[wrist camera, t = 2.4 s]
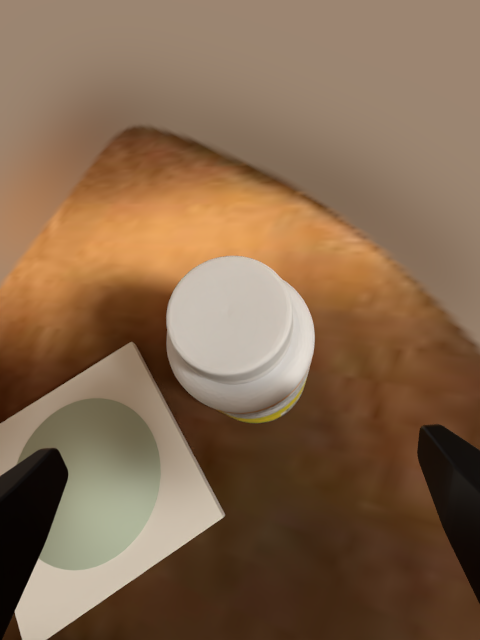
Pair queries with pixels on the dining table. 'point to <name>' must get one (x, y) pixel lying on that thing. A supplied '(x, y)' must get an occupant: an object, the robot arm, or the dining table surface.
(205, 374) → the supplement bottle
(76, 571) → the card
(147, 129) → the dining table surface
